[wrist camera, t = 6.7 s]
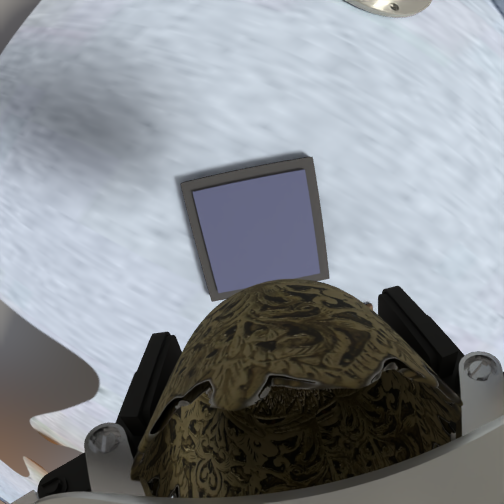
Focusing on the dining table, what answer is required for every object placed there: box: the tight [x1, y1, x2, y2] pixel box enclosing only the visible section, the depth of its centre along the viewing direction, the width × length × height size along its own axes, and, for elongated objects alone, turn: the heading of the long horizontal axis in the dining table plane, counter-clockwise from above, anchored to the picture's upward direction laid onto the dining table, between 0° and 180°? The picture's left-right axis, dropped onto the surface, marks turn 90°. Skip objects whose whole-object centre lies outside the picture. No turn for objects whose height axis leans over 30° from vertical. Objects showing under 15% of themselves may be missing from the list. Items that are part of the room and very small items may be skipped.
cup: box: [130, 279, 463, 498], centre depth 9 cm, size 8×7×8 cm
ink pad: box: [181, 157, 329, 301], centre depth 24 cm, size 10×10×1 cm
